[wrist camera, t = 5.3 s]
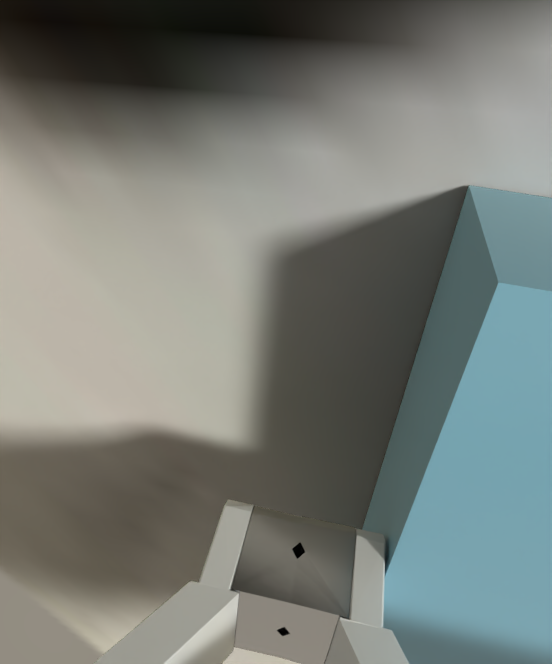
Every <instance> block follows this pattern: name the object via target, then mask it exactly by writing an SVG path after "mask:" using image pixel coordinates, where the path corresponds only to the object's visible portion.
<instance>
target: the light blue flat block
mask: <svg viewBox="0 0 552 664" xmlns="http://www.w3.org/2000/svg"><path fill="white" fill-rule="evenodd" d="M362 530H365V531H370V532H375V533H380V534H383V535H384V538H385V577H384V614H383V628H386V629H389V630H392V632H393V633H394V635H395V637H396V639H397V641H398V643H399V645H400V647H401V649H402V651H403V653H404V655H405V657H406V659H407V660H408V662H409V664H552V198H549V197H542V196H535V195H529V194H522V193H516V192H509V191H503V190H496V189H490V188H483V187H477V186H470V185H469V187H468V190H467V193H466V196H465V200H464V203H463V206H462V209H461V212H460V216H459V219H458V222H457V225H456V229H455V232H454V235H453V238H452V241H451V245H450V248H449V251H448V254H447V258H446V261H445V264H444V267H443V270H442V274H441V277H440V280H439V283H438V287H437V290H436V293H435V296H434V299H433V303H432V306H431V309H430V312H429V316H428V319H427V322H426V325H425V328H424V332H423V335H422V338H421V341H420V345H419V348H418V351H417V354H416V357H415V361H414V364H413V367H412V370H411V374H410V377H409V380H408V383H407V386H406V390H405V393H404V396H403V399H402V403H401V406H400V409H399V412H398V415H397V419H396V422H395V425H394V428H393V432H392V435H391V438H390V441H389V444H388V448H387V451H386V454H385V457H384V461H383V464H382V467H381V470H380V473H379V477H378V480H377V483H376V486H375V490H374V493H373V496H372V499H371V502H370V506H369V509H368V512H367V515H366V519H365V522H364V525H363V528H362Z"/></svg>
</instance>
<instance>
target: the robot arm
mask: <svg viewBox="0 0 552 664" xmlns="http://www.w3.org/2000/svg"><path fill="white" fill-rule="evenodd" d="M384 577H385V538H384V535H383V534H380V533H375V532H370V531H365V530H360V529H355V527H351V526H347V525H342V524H337V523H332V522H328V521H323V520H318V519H313V518H309V517H304V516H302V517H300V516H296V515H292V514H288V513H284V512H280V511H276V510H272V509H268V508H263V507H259V506H255V505H252V504H248V503H243V502H239V501H235V500H230V499H228V500H227V502H226V504H225V505H224V507H223V510H222V513H221V516H220V519H219V522H218V525H217V528H216V531H215V534H214V537H213V540H212V543H211V546H210V549H209V552H208V555H207V558H206V561H205V564H204V567H203V570H202V573H201V576H200V579H199V582H195V581H189V582H188V583H187V584H186V585H185V586H183V587H182V588H181V589H180V590H179V591H178V592H176V593H175V594H174V595H173V596H172V597H170V598H169V599H168V600H167V601H166V602H165V603H163V604H162V605H161V606H160V607H159V608H158V609H156V610H155V611H154V612H153V613H152V614H151V615H149V616H148V617H147V618H146V619H145V620H144V621H142V622H141V623H140V624H139V625H138V626H137V627H135V628H134V629H133V630H132V631H131V632H130V633H128V634H127V635H126V636H125V637H124V638H123V639H121V640H120V641H119V642H118V643H117V644H116V645H114V646H113V647H112V648H111V649H110V650H108V651H107V652H106V653H105V654H104V655H103V656H101V657H100V658H99V659H98V660H97V661H96V662H94V663H93V664H222V663H223V662H224V661H225V659H226V658H227V657H228V656H229V655H230V654H231V653H232V651H233V649H234V647H236V648H241V649H245V650H250V651H254V652H258V653H263V654H267V655H272V656H276V657H280V658H283V659H287V660H290V661H294V662H297V663H301V664H409V662H408V660H407V659H406V657H405V655H404V653H403V651H402V649H401V647H400V645H399V643H398V641H397V639H396V637H395V635H394V633H393V632H392V630H389V629H386V628H383V614H384Z"/></svg>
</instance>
